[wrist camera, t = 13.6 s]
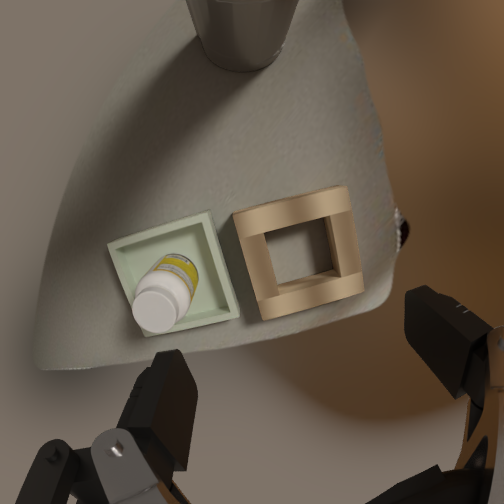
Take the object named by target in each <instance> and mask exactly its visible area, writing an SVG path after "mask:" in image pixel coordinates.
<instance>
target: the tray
mask: <svg viewBox="0 0 504 504" xmlns="http://www.w3.org/2000/svg"><path fill="white" fill-rule="evenodd" d="M107 246H108V249H109V252H110V255H111V258H112V260H113V263H114V266H115V268H116V271H117V274H118V276H119V279H120V281H121V284H122V286H123V289H124V291H125V294H126V296H127V299H128V301H129V303H130V306H131V308H132V305H133V302H134V300H135V290H136V286H137V284H138V282H139V281H140V280H141V278H142V277H143V276H144V275H145V274H146V273H147V272H148V271H149V269H150V268H151V267H152V266H153V265H154V264H155V263H156V262H157V261H158V260H159V259H160V258H161V257H162V256H164V255H166V254H169V253H179V254H183V255H185V256H187V257H188V258H190V259H191V260H192V261H193V262H194V264H195V265H196V267H197V270H198V274H199V281H198V285H197V288H196V291H195V293H194V296H193V299H192V302H191V304H190V307H189V310H188V312H187V314H186V315H185V316H184V318H183V319H181V320H180V321H178V322H177V323H175V324H174V326H173V327H172V328H171V329H170V330H168V331H166V332H164V333H152V332H149V331H147V330H145V329H143V328H142V327H141V326H140V325H139V326H140V328H141V330H142V332H143V334H144V336H145V337H149V336H155V335H160V334H165V333H170V332H175V331H180V330H184V329H189V328H194V327H198V326H203V325H207V324H212V323H216V322H221V321H225V320H229V319H233V318H237V317H240V306H239V303H238V300H237V297H236V294H235V291H234V287H233V284H232V281H231V278H230V275H229V271H228V268H227V265H226V262H225V258H224V255H223V252H222V249H221V245H220V242H219V239H218V235H217V232H216V229H215V225H214V222H213V218H212V215H211V212H210V210H207V211H203V212H200V213H196V214H193V215H190V216H186V217H183V218H180V219H177V220H173V221H170V222H167V223H164V224H161V225H157V226H154V227H151V228H148V229H145V230H142V231H139V232H136V233H133V234H130V235H127V236H124V237H121V238H118V239H116V240H114V241H112V242H110V243H108V244H107Z"/></svg>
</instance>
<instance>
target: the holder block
mask: <svg viewBox="0 0 504 504" xmlns="http://www.w3.org/2000/svg"><path fill="white" fill-rule="evenodd" d="M232 216H233V219H234V223H235V226H236V230H237V233H238V237H239V240H240V244H241V247H242V251H243V254H244V258H245V261H246V265H247V268H248V272H249V275H250V278H251V282H252V285H253V289H254V292H255V296H256V299H257V303H258V306H259V309H260V313H261V316H262V320H263V321H264V320H268V319H272V318H276V317H280V316H284V315H287V314H291V313H295V312H298V311H302V310H305V309H309V308H312V307H316V306H319V305H322V304H326V303H329V302H332V301H336V300H339V299H342V298H345V297H349V296H352V295H355V294H358V293H361V292H364V284H363V276H362V268H361V261H360V254H359V248H358V242H357V236H356V230H355V224H354V219H353V213H352V208H351V203H350V198H349V193H348V189H347V186H340V185H336V186H332V187H328V188H324V189H319V190H315V191H311V192H307V193H303V194H299V195H295V196H291V197H287V198H283V199H279V200H275V201H271V202H267V203H264V204H260V205H256V206H252V207H249V208H245V209H241V210H238V211H234V212H233V215H232ZM321 217H323V219H324V224H325V228H326V233H327V238H328V243H329V248H330V254H331V259H332V264H333V269H332V270H329V271H326V272H322V273H319V274H315V275H312V276H308V277H304V278H301V279H297V280H294V281H290V282H286V283H283V284H279V285H277V282H276V278H275V275H274V271H273V267H272V263H271V259H270V255H269V251H268V248H267V244H266V240H265V236H264V232H268V231H272V230H276V229H279V228H283V227H287V226H291V225H295V224H298V223H302V222H306V221H310V220H314V219H318V218H321Z"/></svg>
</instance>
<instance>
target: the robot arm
mask: <svg viewBox="0 0 504 504" xmlns="http://www.w3.org/2000/svg"><path fill="white" fill-rule="evenodd" d="M298 1H299V0H186V3H187V6H188V9H189V12H190V15H191V18H192V21H193V24H194V27H195V30H196V33H197V35H198V36H199V37H200V39H201V42H202V45H203V48H204V51H205V53H206V55H207V56H208V58H209V59H210V60H211V61H212V62H213V63H215V64H216V65H218V66H220V67H222V68H224V69H227V70H230V71H236V72H250V71H254V70H258V69H261V68H263V67H266V66H267V65H269V64H270V63H272V62H273V61H274V60H275V59H276V58H277V57H278V55H279V54H280V52H281V50H282V47H283V45H284V43H285V42H284V41H285V38H286V35H287V33H288V30H289V27H290V24H291V21H292V18H293V15H294V12H295V9H296V6H297V4H298ZM404 331H405V336H406V339H407V341H408V343H409V344H410V345H411V347H412V348H413V349H414V350H415V351H416V352H417V354H418V355H419V356H420V357H421V358H422V360H423V361H424V362H425V363H426V364H427V366H428V367H429V368H430V369H431V370H432V372H433V373H434V374H435V375H436V376H437V378H438V379H439V380H440V381H441V383H442V384H443V385H444V386H445V388H446V389H447V390H448V391H449V392H450V394H451V395H452V396H453V398H454V399H457V398H459V397H461V396H462V395H464V394H466V393H467V394H468V395H469V396H470V397H469V400H468V403H467V413H466V422H465V430H464V437H463V444H462V449H461V452H460V455H459V458H458V460H457V463H456V466H455V468H454V470H450V471H444V472H441V470H440V468H439V466H438V465H435V466H433V467H431V468H429V469H427V470H425V471H423V472H421V473H419V474H417V475H415V476H413V477H411V478H408V479H406V480H404V481H402V482H399V483H397V484H396V485H394V486H393V487H391V488H390V489H388V490H387V491H385V492H384V493H382V494H380V495H379V496H377V497H376V498H374V499H372V500H371V501H369V502H367V503H365V504H504V326H500V327H496V328H492V327H491V326H490V325H488V324H487V323H486V322H485V321H483V320H482V319H481V318H479V317H478V316H477V315H475V314H474V313H473V312H471V311H468V309H467V308H466V307H465V306H463V305H462V306H461V304H460V303H459V302H458V301H456V300H455V299H454V298H452V297H449V296H446V295H443V294H440V293H439V294H438V293H437V292H435V291H434V290H432V289H431V288H429V287H428V286H427V285H423V286H420V287H417V288H415V289H412V290H409V291H407V292H406V294H405V319H404ZM197 400H198V390H197V386H196V383H195V380H194V378H193V376H192V374H191V372H190V370H189V368H188V366H187V364H186V362H185V359H184V357H183V355H182V353H181V352H180V350H178V349H175V350H168V351H162V352H157V353H156V355H155V358H154V360H153V362H152V365H151V367H147V368H146V369H145V370H144V371H143V372H142V373H141V374H140V375H139V376H138V378H137V380H136V382H135V384H134V387H133V390H132V392H131V393H130V398H129V399H128V400H127V403H126V405H125V407H124V410H123V412H122V415H121V417H120V419H119V422H118V424H117V427H116V428H114V429H110V430H107V431H105V432H103V433H101V434H100V435H99V436H98V437H97V438H96V439H95V440H94V442H93V444H92V446H91V447H89V448H83V449H77V450H72V448H71V447H70V446H69V445H68V444H67V443H66V442H65V441H63V440H60V439H54V440H51V441H49V442H47V443H45V444H44V445H43V446H42V447H41V448H40V449H39V451H38V453H37V455H36V457H35V459H34V461H33V464H32V466H31V468H30V470H29V472H28V474H27V477H26V479H25V481H24V484H23V486H22V488H21V491H20V493H19V496H18V498H17V500H16V503H15V504H67V500H68V497H69V494H71V495H72V496H74V497H75V498H76V499H77V502H76V504H191V503H190V502H189V500H188V499H187V498H186V497H185V495H184V494H183V493H182V492H181V490H180V489H179V487H178V486H177V485H176V483H175V482H174V481H173V480H172V477H173V472H174V471H186V470H187V463H188V457H189V450H190V443H191V437H192V431H193V424H194V418H195V412H196V406H197Z"/></svg>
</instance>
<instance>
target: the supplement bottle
mask: <svg viewBox="0 0 504 504" xmlns="http://www.w3.org/2000/svg"><path fill="white" fill-rule="evenodd" d="M198 281H199V274H198V270H197V267H196V265H195V264H194V262H193V261H192V260H191V259H190V258H188V257H187V256H185V255H183V254H179V253H169V254H166V255H164V256H162V257H161V258H160V259H159V260H158V261H157V262H156V263H155V264H154V265H153V266H152V267H151V268H150V269H149V271H148V272H147V273H146V274H145V275H144V276H143V277H142V278H141V280H140V281H139V282H138V284H137V286H136V290H135V300H134V302H133V305H132V313H133V316H134V318H135V320H136V322H137V323H138V324H139V325H140V326H141V327H142V328H143V329H145V330H147V331H149V332H152V333H164V332H166V331H168V330H170V329H171V328H172V327H173V326H174V324H175V323H177V322H178V321H180V320H181V319H183V318H184V316H185V315H186V314H187V312H188V310H189V307H190V304H191V302H192V299H193V296H194V293H195V291H196V288H197V285H198Z"/></svg>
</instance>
